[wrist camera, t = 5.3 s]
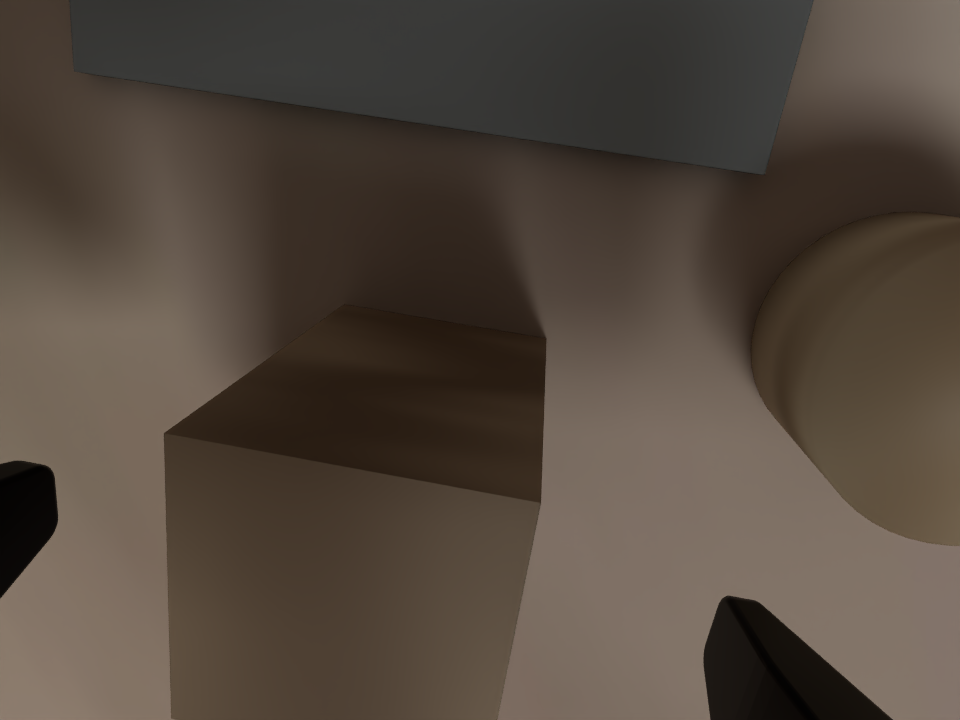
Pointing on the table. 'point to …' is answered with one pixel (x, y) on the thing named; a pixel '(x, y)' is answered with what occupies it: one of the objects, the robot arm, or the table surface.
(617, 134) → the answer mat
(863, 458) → the beige round knob
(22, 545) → the robot arm
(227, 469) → the walnut block
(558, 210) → the table surface
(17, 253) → the table surface
